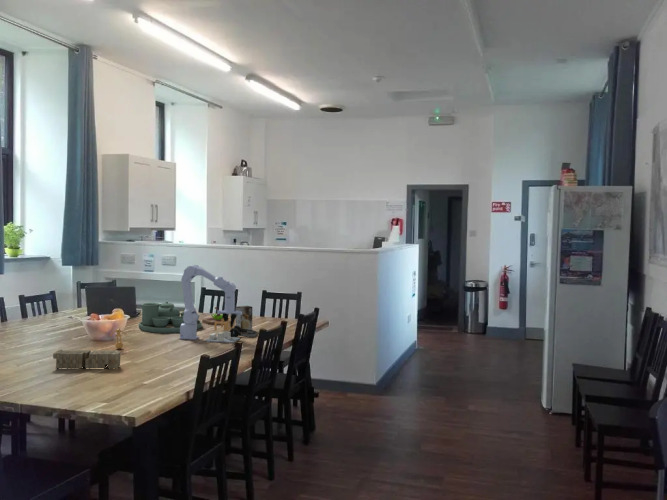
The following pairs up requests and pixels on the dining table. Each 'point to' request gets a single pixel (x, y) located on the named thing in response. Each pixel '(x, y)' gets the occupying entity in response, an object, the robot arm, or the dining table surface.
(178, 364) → the dining table surface
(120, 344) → the figurine
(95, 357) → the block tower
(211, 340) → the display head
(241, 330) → the headset
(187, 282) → the robot arm
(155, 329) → the tea set
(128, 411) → the dining table surface
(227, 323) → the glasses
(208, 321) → the plant
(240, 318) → the coffee box
